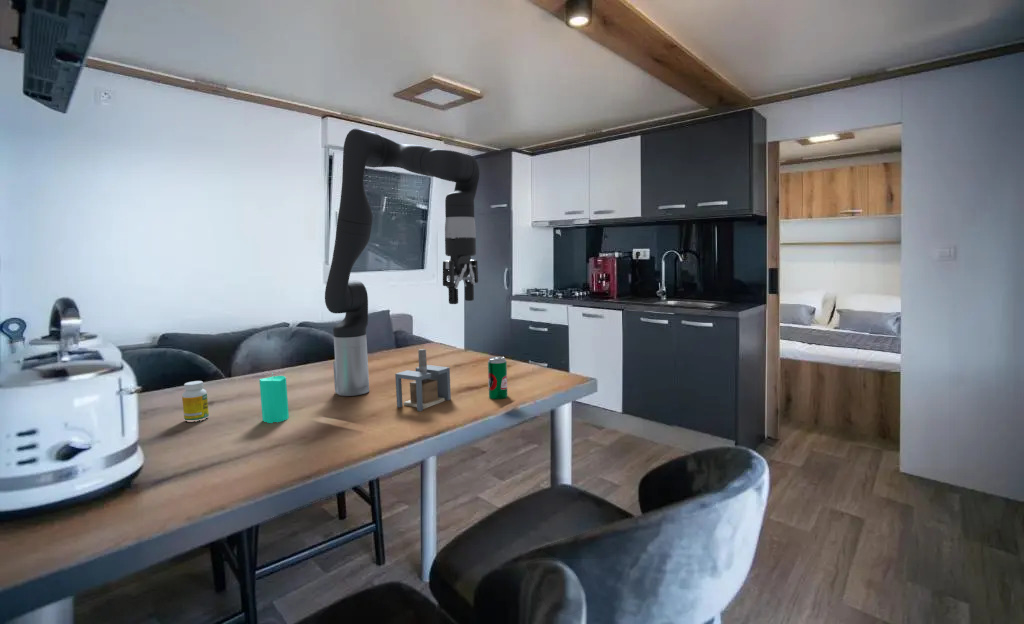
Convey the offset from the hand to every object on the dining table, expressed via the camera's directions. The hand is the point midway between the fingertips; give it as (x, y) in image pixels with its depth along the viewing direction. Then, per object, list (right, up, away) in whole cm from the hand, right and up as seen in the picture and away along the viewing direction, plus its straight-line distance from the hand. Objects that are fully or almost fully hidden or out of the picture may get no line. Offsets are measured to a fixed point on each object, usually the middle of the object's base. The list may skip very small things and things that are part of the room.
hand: (461, 302), depth 127 cm
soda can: (+9, -27, +12) cm, 31 cm away
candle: (-47, -30, +1) cm, 55 cm away
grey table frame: (-12, -28, +8) cm, 31 cm away
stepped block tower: (-11, -26, +7) cm, 29 cm away
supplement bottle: (-67, -30, +2) cm, 74 cm away
